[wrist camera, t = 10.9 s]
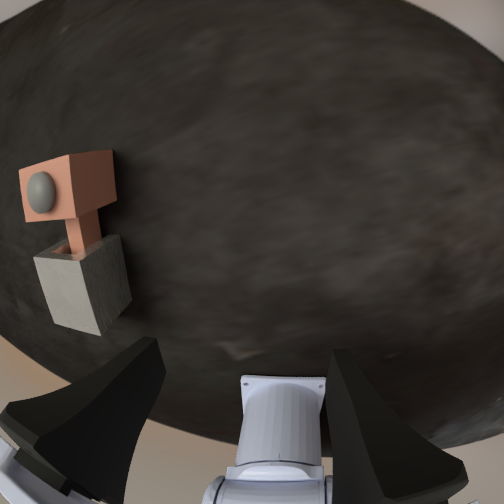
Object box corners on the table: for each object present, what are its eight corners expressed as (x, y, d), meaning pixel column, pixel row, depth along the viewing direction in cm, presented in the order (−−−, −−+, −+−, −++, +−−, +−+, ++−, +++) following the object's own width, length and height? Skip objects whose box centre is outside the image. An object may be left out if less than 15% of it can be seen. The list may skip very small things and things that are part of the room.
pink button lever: (138, 312, 23) (108, 351, 18) (89, 305, 23) (57, 337, 18) (112, 149, 18) (62, 155, 12) (60, 161, 18) (13, 171, 13)
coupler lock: (132, 300, 22) (101, 335, 17) (87, 293, 23) (54, 323, 18) (120, 234, 20) (79, 261, 15) (74, 234, 21) (33, 256, 16)
